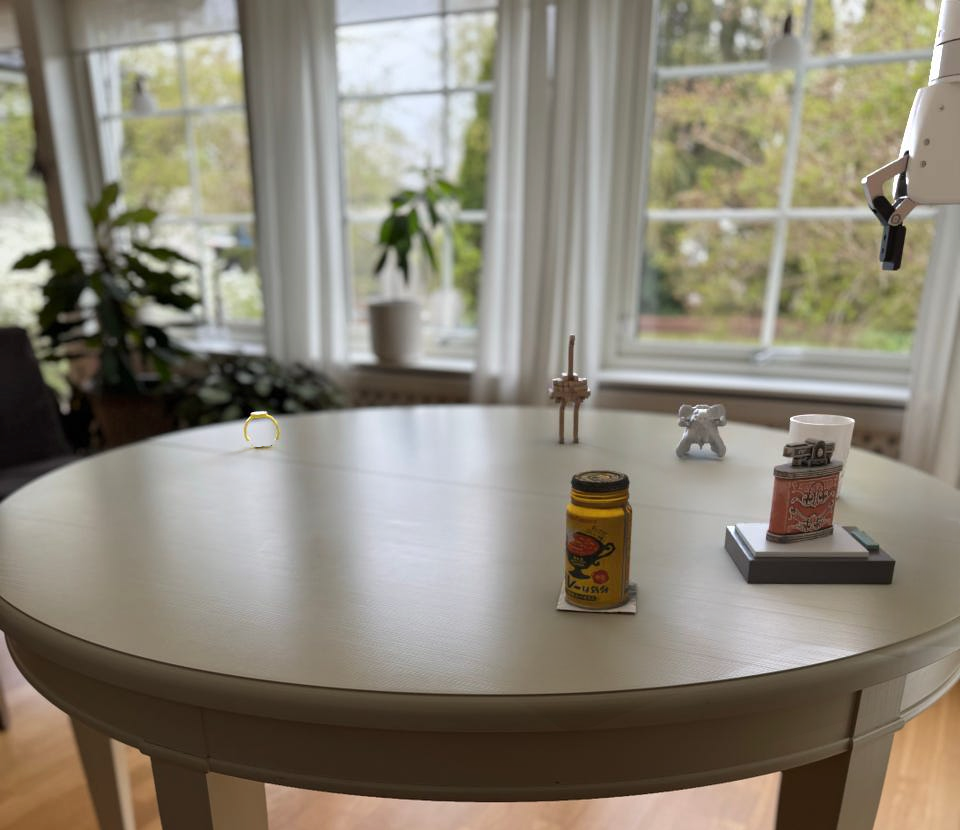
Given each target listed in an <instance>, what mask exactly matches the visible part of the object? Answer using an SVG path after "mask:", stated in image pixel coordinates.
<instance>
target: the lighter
mask: <svg viewBox="0 0 960 830" xmlns="http://www.w3.org/2000/svg"><path fill="white" fill-rule="evenodd" d="M835 443H836V442H835V441H830V440H825V441H823V440H819V439H814V438H808V439H806V440H805V442H796V443H789V442H788V443H786V444H785V445H784V446H783V450H782V457H783V458H787V459H788V458H793V459H792V463H788V462H787V463H783V464H779V465H775V466H773V473H772V476H774V481H773V490H772V498H771V506H770V514H769V515H770V516H769V522H768V523H769V530H767V532H766V541H768V542H771V543H775V544H792V543H800V542H807V541H813V540H817V539H822V538H825V537H828V536H831V535H833V529H834V525H833V524H832V523H833V522H834V516H835V515H834V514H835V509H836V502H837V498H836V495H837V489H838V482H839V475H840V471H842V468H843V462H841V461H837V460H830V459H831V457H832V455H833V452H834V450H835Z"/></svg>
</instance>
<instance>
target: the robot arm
mask: <svg viewBox="0 0 960 830" xmlns="http://www.w3.org/2000/svg"><path fill="white" fill-rule="evenodd" d="M939 11H940V12H939V17H938V24H937V29H936V37H935V43H934V48H933V49H934V50H933V56H932V61H931V69H930V75H929V81H928V85H926V86H923V87H921V88H918V90H917V92H916V94H915V98H914V101H913V103H912V107H911V110H910V113H909V116H908V120H907V124H906V128H905V131H904V135H903V140H902V143H901V148H900V152H899V155H898V158H897V159H895V160H893V161H891V162H890V163H887V164H886V165H883V166H882V167H881V168H878V169H876V170H875V171H873V172H871V173H869V174H867V175H865V176H864V177H863V178H862V180H861V186H862V188H863V192H864V195H865V197H866V199H867V202H868V208H869V209H870V211H871V212H872V213H873V215H874V216H875V217H876V218H877V219H878V221H879V225H880V226H881V227H883V229H882V236H881V243H880V248H879V249H880V250H879V257H878V258H879V259H878V260H879V262H881V263H882V265H881V270H882V271H888V272H889V271H891V272H893V271H898V270H900V269H901V266H902V260H903V254H904V246H905V242H906V235H907V227H906V225H903V224H904V220H905V219H906V218H907V217H908V215H910V214H911V213H912V211H914V210H915V208H916V207H917V206H953V205H955V206H957V205H960V0H941V5H940V10H939ZM893 178H894V181H893V186H892V187H893V188H892V197H893V198H892V199H893V200H894V202H893V203H891V202H890V200H888V198H887V197H886V196H885V194H884V189H883V186H884V184H885V183H886V182H888V181H890V180H891V179H893Z"/></svg>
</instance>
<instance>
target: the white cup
mask: <svg viewBox="0 0 960 830" xmlns="http://www.w3.org/2000/svg"><path fill="white" fill-rule="evenodd" d="M855 424H856V420H855V419H854V418H851V417H849V416H848V417H847V416H843V415H834V414H821V413H820V414H819V413H818V414H816V413H815V414H799V415H793V416H792V417H790V420H789V432H788V433H789V435H788V443H796V442H805V440H806V439H808V438H814V439H819V440H823V441H825V440H830V441H835V442H836V443H835V450H834V452H833V455H832V457H831V459H830V460H837V461H841V462H843V468H842V471H840V475H839V482H838V489H837V495H836V499H838V498H839V496H840V495H841V489H842V484H843V478H844V476H845V474H846V473H845V472H846V468H847V463H848V459H849V454H850V449H851V444H852V439H853V433H854V428H855ZM792 459H793V458H787V463H792Z"/></svg>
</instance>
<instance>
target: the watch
mask: <svg viewBox="0 0 960 830" xmlns="http://www.w3.org/2000/svg"><path fill="white" fill-rule="evenodd" d="M262 418H266V419H269V420H270V421H272V423H273V424H274V425H275V429H276V436H275V438H274V440H278V441H279V438H280V432H281V431H280V428H279V423H278V421H277V420H276V419H275V418H274V417H273V416H272V415H270V414H268V412H267V411H254V412H251V413H250V416H249V417H248V418H247V419H246V421H245V423H244V426H243V433H244V434H243V435H244V438H245V440H246V441H247V442H248V441H250V440H251V439H250V437H249V436H248V432H247V428H248V425H249V423H250V422H251V421H252V420H253V419H262Z"/></svg>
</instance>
